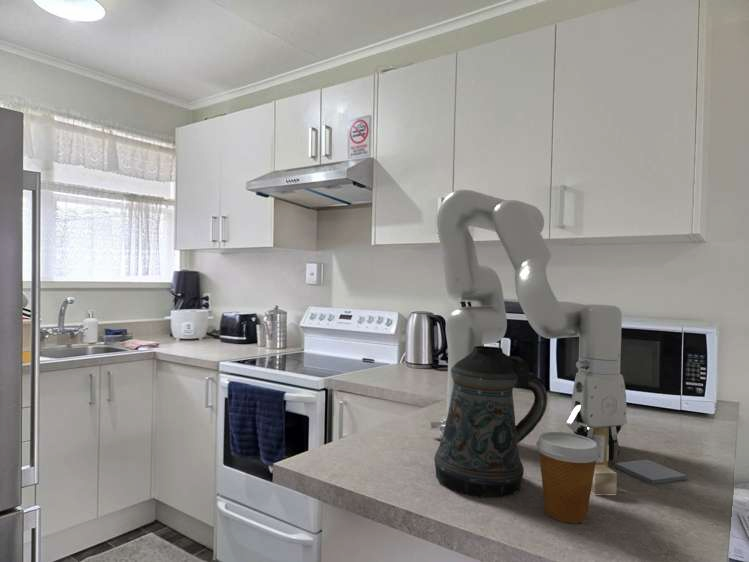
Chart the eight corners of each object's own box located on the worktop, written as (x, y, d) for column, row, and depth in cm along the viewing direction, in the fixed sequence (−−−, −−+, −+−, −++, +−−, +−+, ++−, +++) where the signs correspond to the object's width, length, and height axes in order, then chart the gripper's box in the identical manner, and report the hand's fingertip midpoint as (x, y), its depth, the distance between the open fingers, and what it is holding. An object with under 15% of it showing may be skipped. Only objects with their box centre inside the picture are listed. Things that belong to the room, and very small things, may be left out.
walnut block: (608, 466, 101) (609, 447, 101) (589, 460, 104) (590, 441, 104) (616, 462, 103) (617, 443, 103) (598, 456, 106) (598, 438, 106)
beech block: (594, 495, 86) (595, 473, 86) (583, 486, 89) (583, 464, 90) (616, 495, 86) (616, 473, 86) (603, 486, 90) (604, 465, 90)
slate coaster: (652, 484, 91) (652, 480, 91) (614, 467, 100) (614, 463, 100) (686, 479, 94) (686, 475, 94) (647, 463, 103) (647, 459, 103)
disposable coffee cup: (576, 535, 71) (578, 454, 71) (522, 509, 79) (524, 436, 79) (609, 518, 77) (611, 443, 77) (556, 496, 84) (558, 428, 84)
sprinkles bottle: (613, 477, 94) (615, 408, 94) (599, 481, 92) (602, 411, 92) (591, 469, 98) (593, 403, 98) (578, 473, 96) (580, 405, 96)
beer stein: (418, 469, 95) (422, 342, 95) (497, 458, 103) (501, 341, 103) (466, 505, 80) (472, 354, 80) (555, 489, 87) (560, 352, 88)
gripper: (579, 371, 89) (575, 470, 89) (647, 369, 95) (644, 462, 94) (551, 364, 96) (548, 456, 96) (616, 363, 102) (613, 449, 101)
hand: (596, 458), depth 95 cm, fingers closed on sprinkles bottle, 4 cm apart
